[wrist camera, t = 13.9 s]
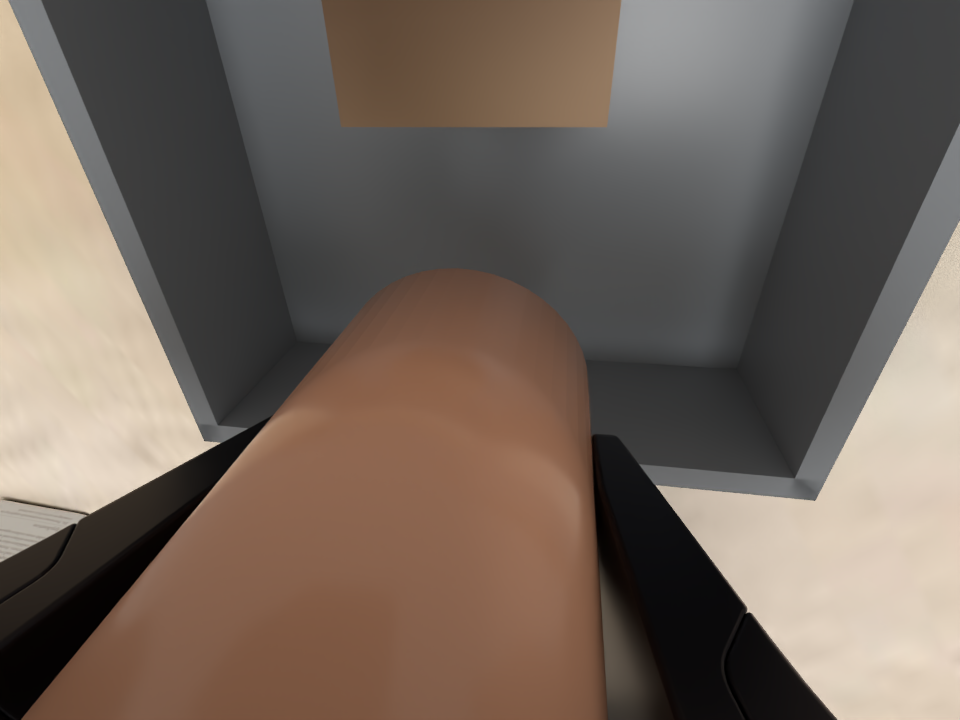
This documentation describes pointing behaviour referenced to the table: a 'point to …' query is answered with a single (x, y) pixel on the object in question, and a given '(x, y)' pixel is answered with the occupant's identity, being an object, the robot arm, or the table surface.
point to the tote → (541, 209)
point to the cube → (472, 62)
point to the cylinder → (383, 538)
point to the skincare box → (29, 525)
